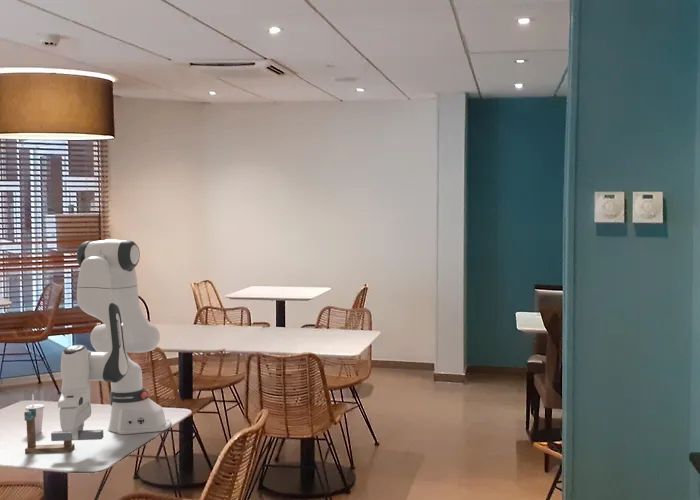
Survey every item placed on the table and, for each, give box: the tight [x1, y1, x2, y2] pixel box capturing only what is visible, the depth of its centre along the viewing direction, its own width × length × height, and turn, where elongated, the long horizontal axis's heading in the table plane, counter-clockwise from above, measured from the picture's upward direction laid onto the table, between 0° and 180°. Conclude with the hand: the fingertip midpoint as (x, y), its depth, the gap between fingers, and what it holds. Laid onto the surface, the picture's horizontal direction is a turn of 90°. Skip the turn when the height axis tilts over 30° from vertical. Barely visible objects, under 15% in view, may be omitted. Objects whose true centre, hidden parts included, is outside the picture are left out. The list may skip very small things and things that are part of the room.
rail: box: [50, 429, 105, 442], centre depth 247 cm, size 16×2×2 cm, turn 93°
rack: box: [23, 408, 75, 454], centre depth 254 cm, size 15×5×14 cm, turn 93°
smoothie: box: [25, 393, 45, 435], centre depth 277 cm, size 6×6×14 cm
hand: (77, 437), depth 247 cm, fingers closed on rail, 2 cm apart
